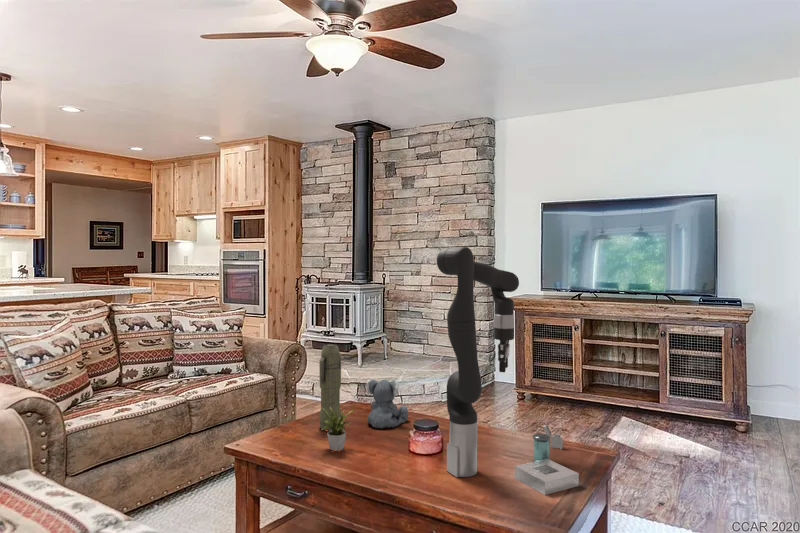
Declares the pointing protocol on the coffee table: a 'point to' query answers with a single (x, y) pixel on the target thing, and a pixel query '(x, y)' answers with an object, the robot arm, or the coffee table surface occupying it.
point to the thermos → (330, 383)
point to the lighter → (554, 438)
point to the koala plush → (385, 404)
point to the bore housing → (546, 476)
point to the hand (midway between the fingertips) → (503, 369)
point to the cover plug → (541, 446)
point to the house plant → (336, 430)
